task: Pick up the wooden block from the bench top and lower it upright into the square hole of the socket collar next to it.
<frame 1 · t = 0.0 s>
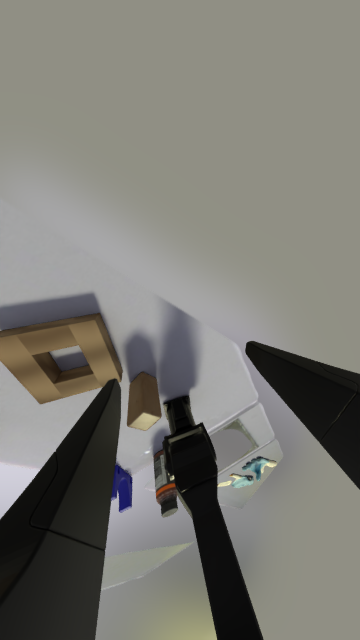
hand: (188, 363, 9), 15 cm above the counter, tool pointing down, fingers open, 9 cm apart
supplement bottle: (162, 453, 43), on the counter
cable clip: (117, 473, 41), on the counter
rubber gloves: (247, 470, 78), on the counter
socket collar: (72, 354, 22), on the counter
wooden block: (143, 380, 28), on the counter
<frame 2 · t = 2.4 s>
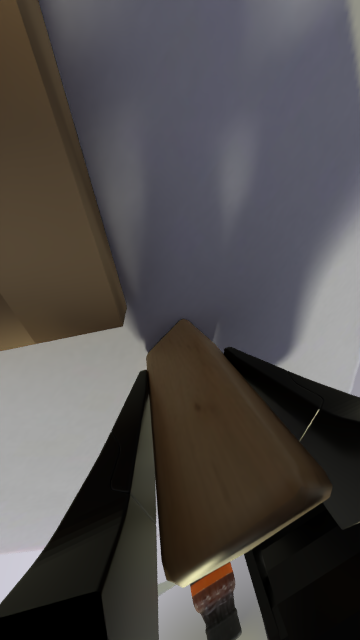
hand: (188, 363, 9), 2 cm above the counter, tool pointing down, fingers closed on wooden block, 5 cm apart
supplement bottle: (191, 489, 25), on the counter
wooden block: (180, 346, 11), on the counter, touching gripper
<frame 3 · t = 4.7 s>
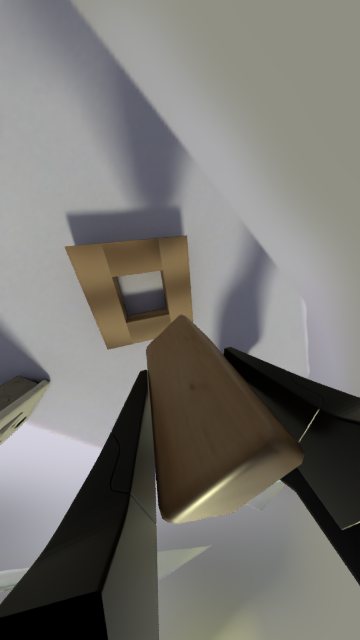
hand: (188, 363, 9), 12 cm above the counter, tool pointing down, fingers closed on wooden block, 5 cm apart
electrical switch: (18, 395, 20), on the counter
socket collar: (143, 293, 19), on the counter
wooden block: (178, 341, 11), point 10 cm above the counter, touching gripper
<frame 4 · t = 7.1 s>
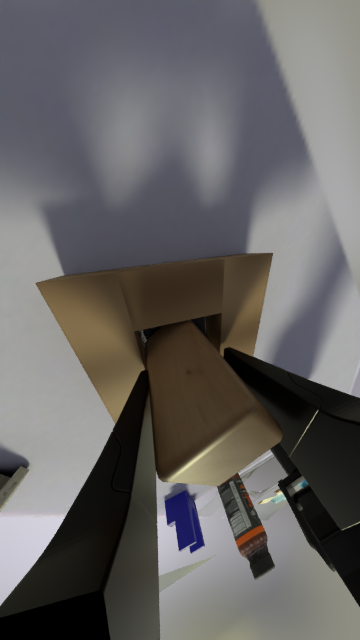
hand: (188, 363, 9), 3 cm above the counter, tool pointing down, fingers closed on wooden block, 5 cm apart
supplement bottle: (226, 476, 33), on the counter
cable clip: (181, 499, 31), on the counter
rubber gloves: (289, 484, 69), on the counter
socket collar: (175, 337, 12), on the counter
wooden block: (176, 337, 12), resting in socket collar, touching gripper
when the fingers open (3 cm above the counter, at t = 7.5 s): wooden block stays where it is, resting in socket collar.
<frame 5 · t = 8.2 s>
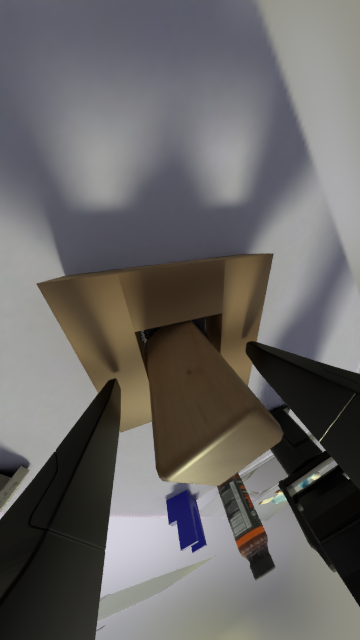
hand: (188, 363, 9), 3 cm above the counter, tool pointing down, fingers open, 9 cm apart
supplement bottle: (226, 477, 33), on the counter
cable clip: (182, 499, 31), on the counter
rubber gloves: (289, 484, 69), on the counter
socket collar: (176, 338, 12), on the counter
wooden block: (176, 337, 12), resting in socket collar
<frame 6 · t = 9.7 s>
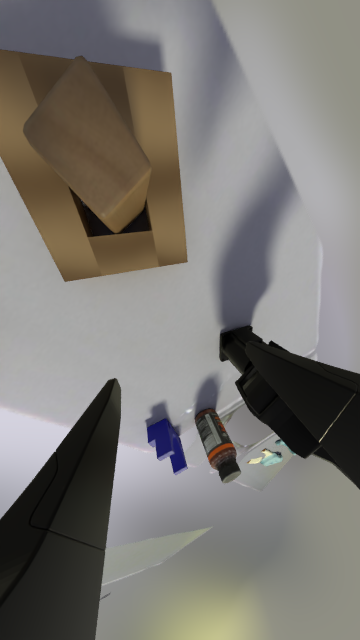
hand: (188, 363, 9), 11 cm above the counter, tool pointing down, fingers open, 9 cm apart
supplement bottle: (204, 414, 35), on the counter
cable clip: (165, 432, 33), on the counter
rubber gloves: (277, 447, 72), on the counter
socket collar: (114, 202, 13), on the counter
wooden block: (115, 204, 13), resting in socket collar
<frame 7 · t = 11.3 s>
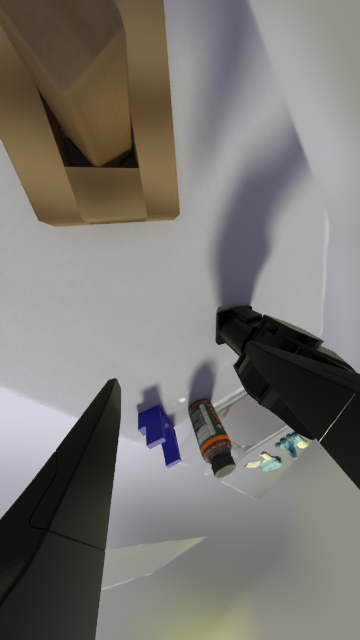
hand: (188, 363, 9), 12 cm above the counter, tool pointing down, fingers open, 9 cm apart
supplement bottle: (199, 406, 33), on the counter
cable clip: (158, 421, 31), on the counter
rubber gloves: (277, 451, 68), on the counter
socket collar: (99, 139, 12), on the counter
wooden block: (100, 142, 12), resting in socket collar
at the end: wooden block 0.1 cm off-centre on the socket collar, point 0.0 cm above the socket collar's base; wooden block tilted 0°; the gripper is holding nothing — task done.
